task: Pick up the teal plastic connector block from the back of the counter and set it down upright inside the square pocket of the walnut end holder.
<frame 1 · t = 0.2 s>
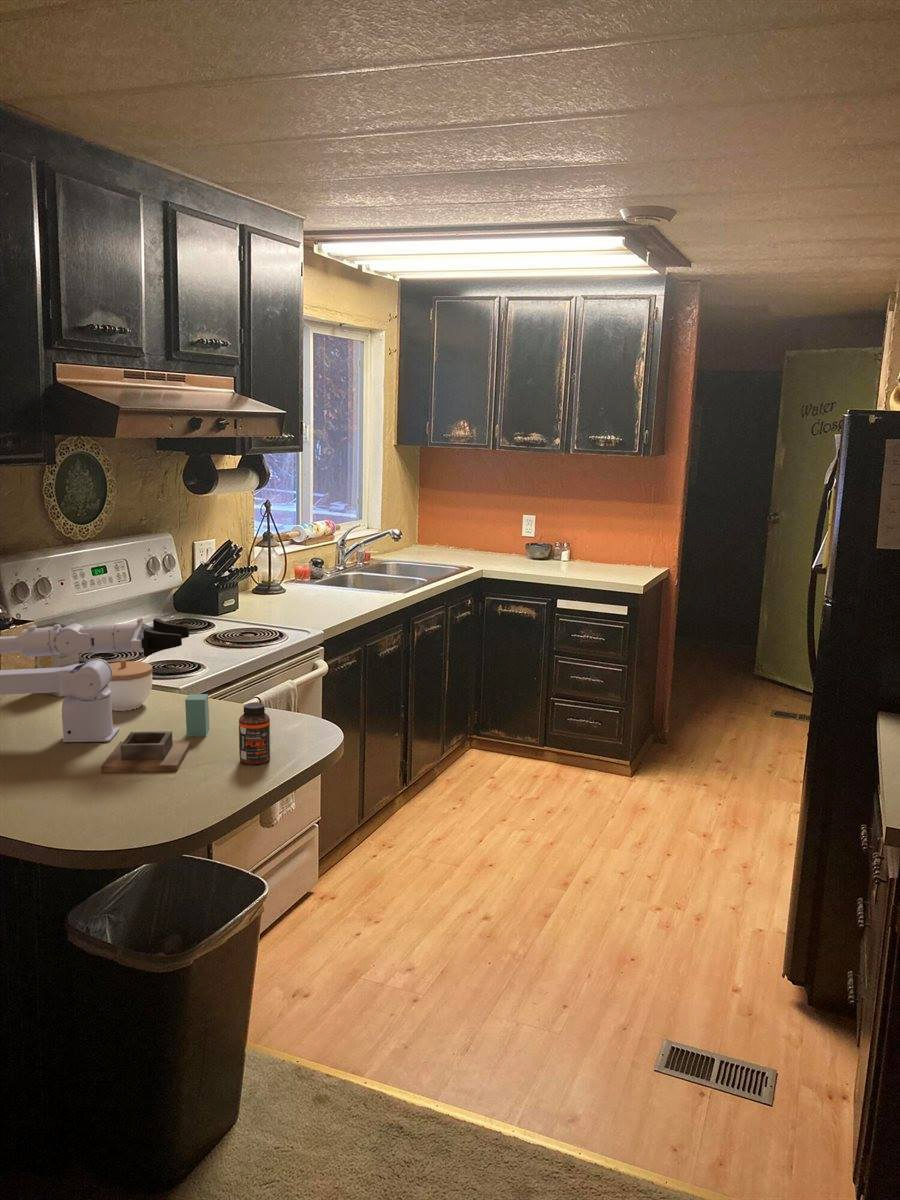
hand: (185, 636, 198), 21 cm above the table, tool horizontal, fingers open, 7 cm apart
supplement bottle: (255, 761, 188), on the table
lidded bowl: (125, 707, 221), on the table
connector block: (198, 733, 203), on the table
end holder: (147, 758, 188), on the table
coffee box: (59, 692, 233), on the table
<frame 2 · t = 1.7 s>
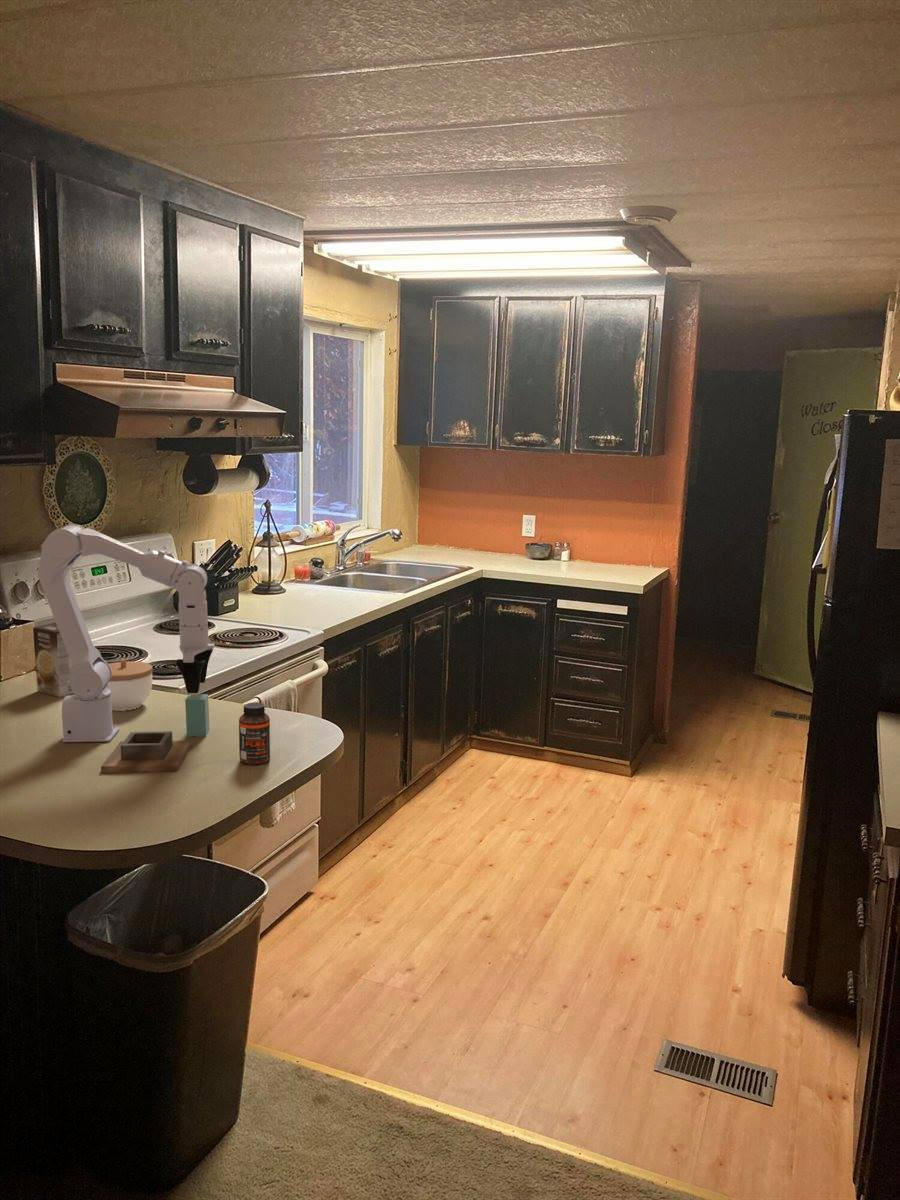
hand: (196, 687, 201), 10 cm above the table, tool pointing down, fingers open, 7 cm apart
nothing on the table moved.
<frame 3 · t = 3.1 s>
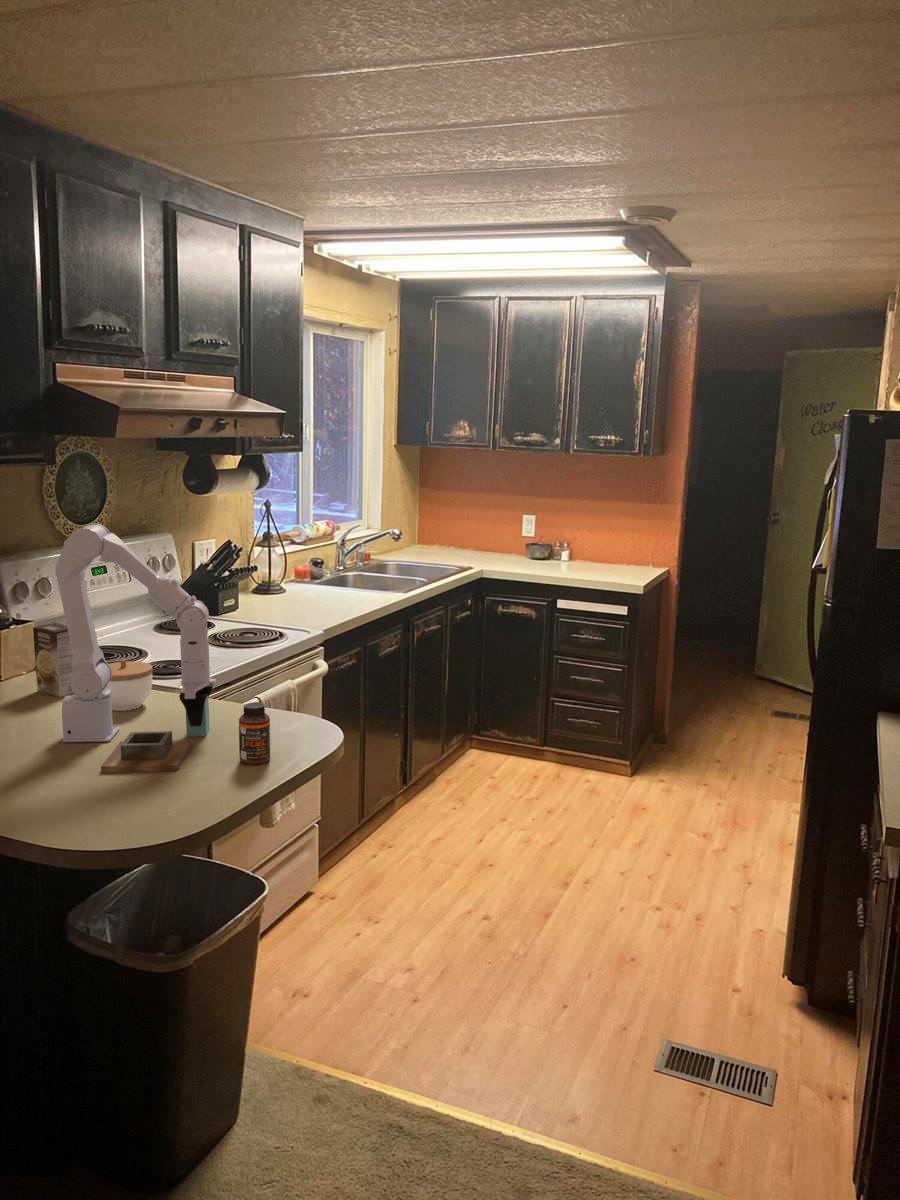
hand: (197, 722, 203), 2 cm above the table, tool pointing down, fingers closed on connector block, 4 cm apart
connector block: (198, 733, 203), on the table, touching gripper
everything else where it was.
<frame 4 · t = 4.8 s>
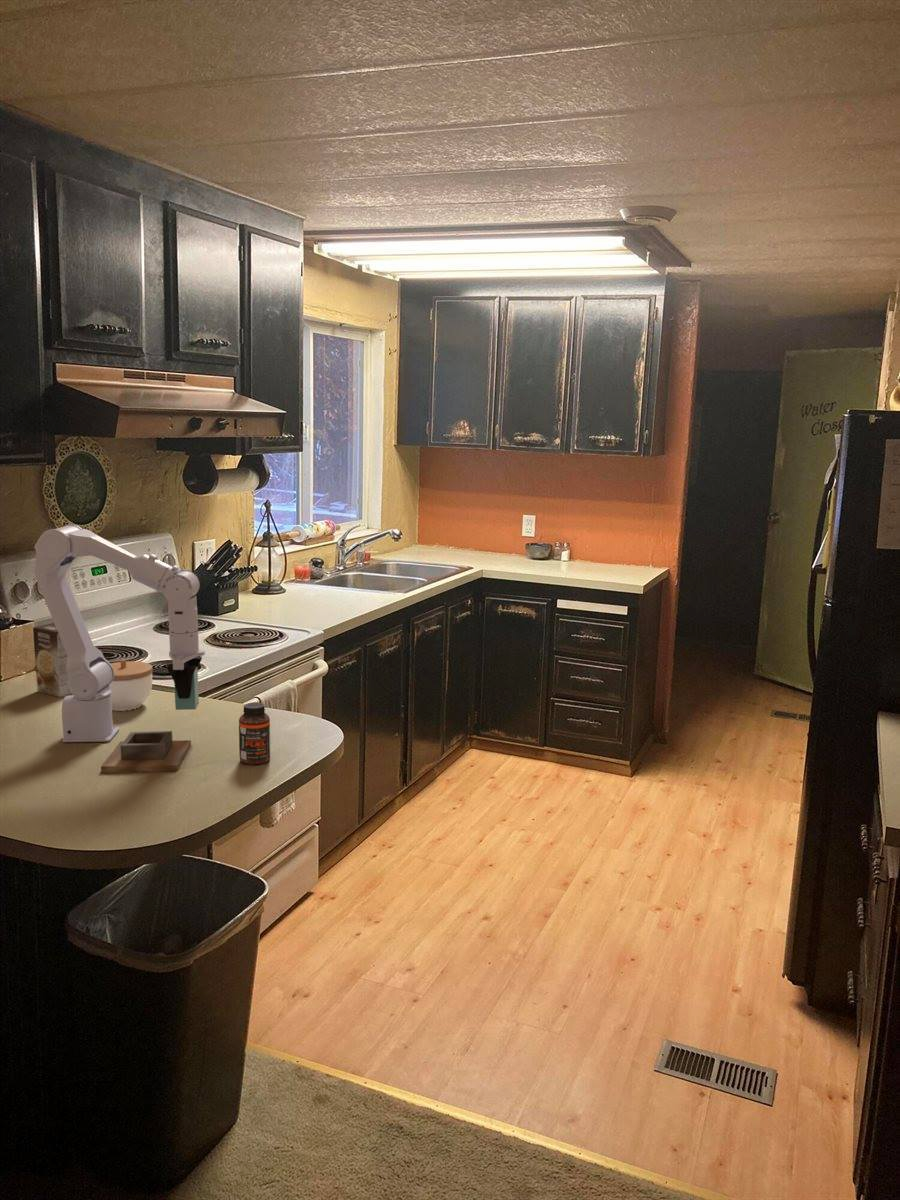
hand: (186, 694, 198), 9 cm above the table, tool pointing down, fingers closed on connector block, 4 cm apart
connector block: (187, 706, 199), point 7 cm above the table, touching gripper
everything else where it was.
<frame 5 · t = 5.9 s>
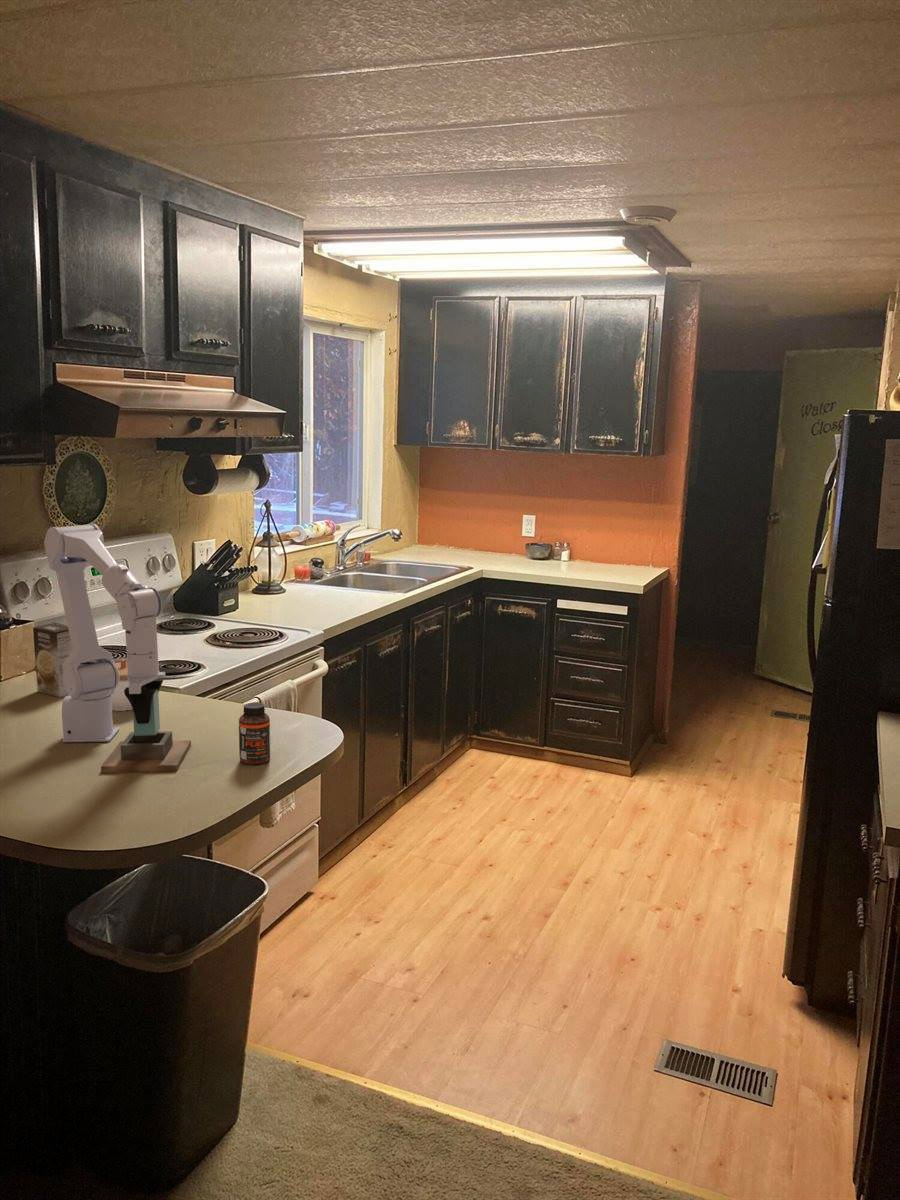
hand: (145, 719, 186), 8 cm above the table, tool pointing down, fingers closed on connector block, 4 cm apart
connector block: (147, 732, 187), point 5 cm above the table, touching gripper
everything else where it was.
when the fingers open (5 cm above the table, at t = 6.8 s): connector block drops 1 cm, resting on end holder.
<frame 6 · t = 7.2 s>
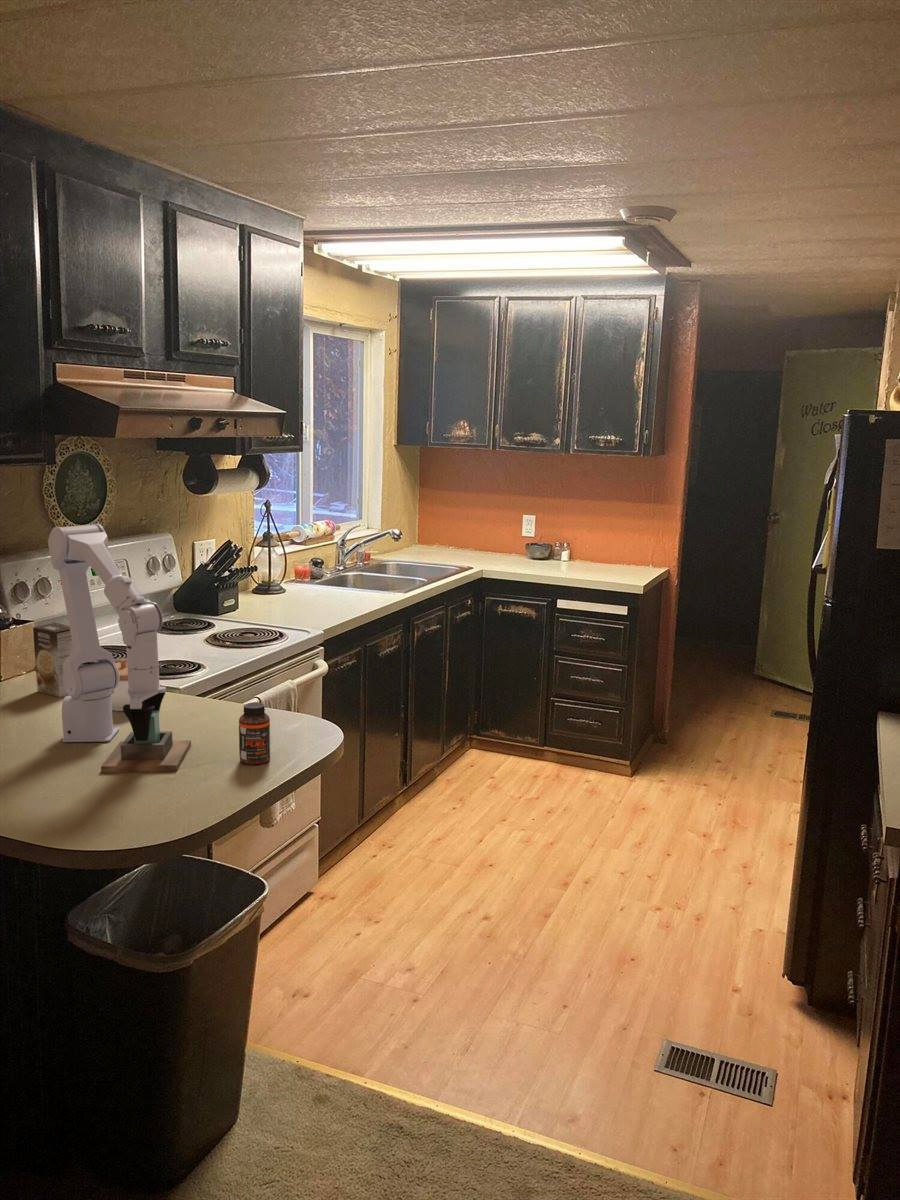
hand: (146, 733, 187), 5 cm above the table, tool pointing down, fingers open, 7 cm apart
connector block: (148, 752, 188), point 1 cm above the table, touching end holder
everything else where it was.
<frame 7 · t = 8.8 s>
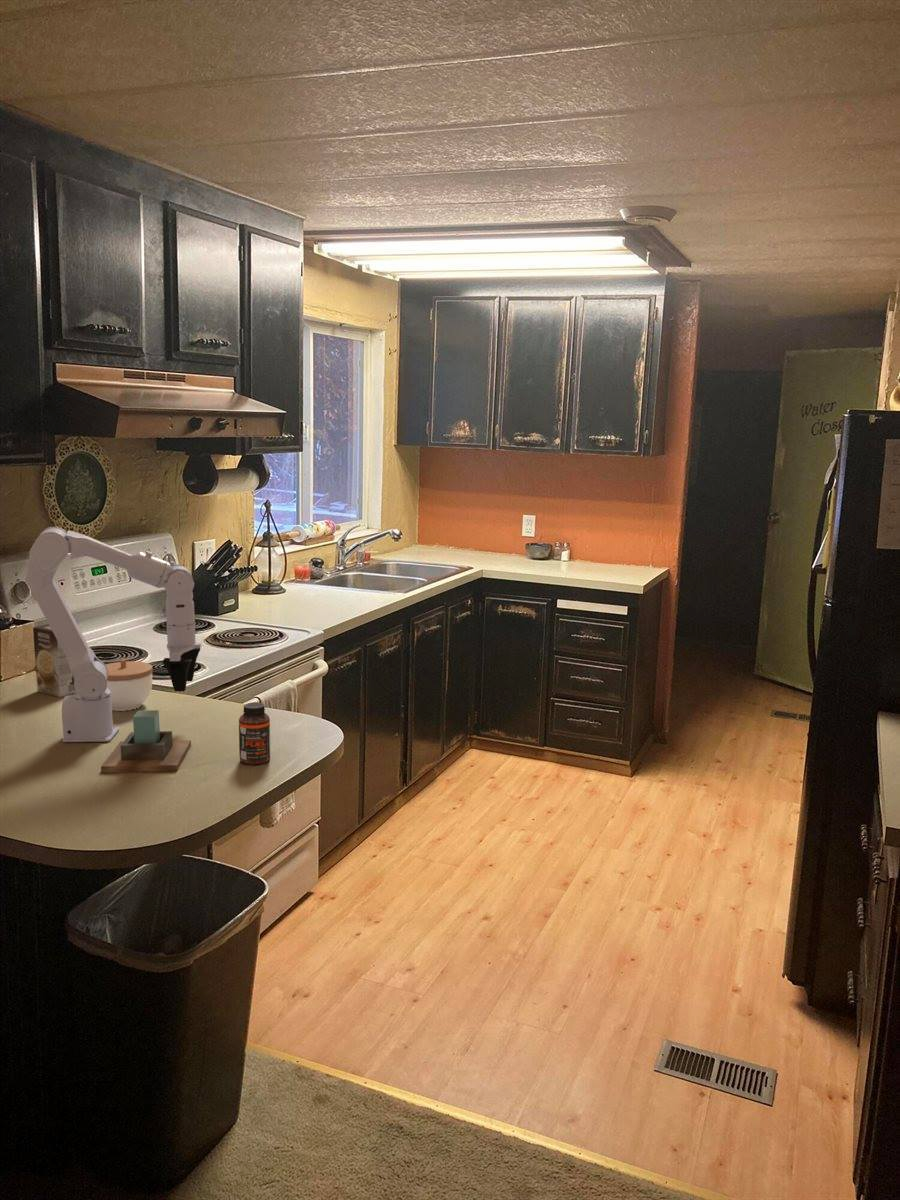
hand: (183, 685, 204), 9 cm above the table, tool pointing down, fingers open, 7 cm apart
nothing on the table moved.
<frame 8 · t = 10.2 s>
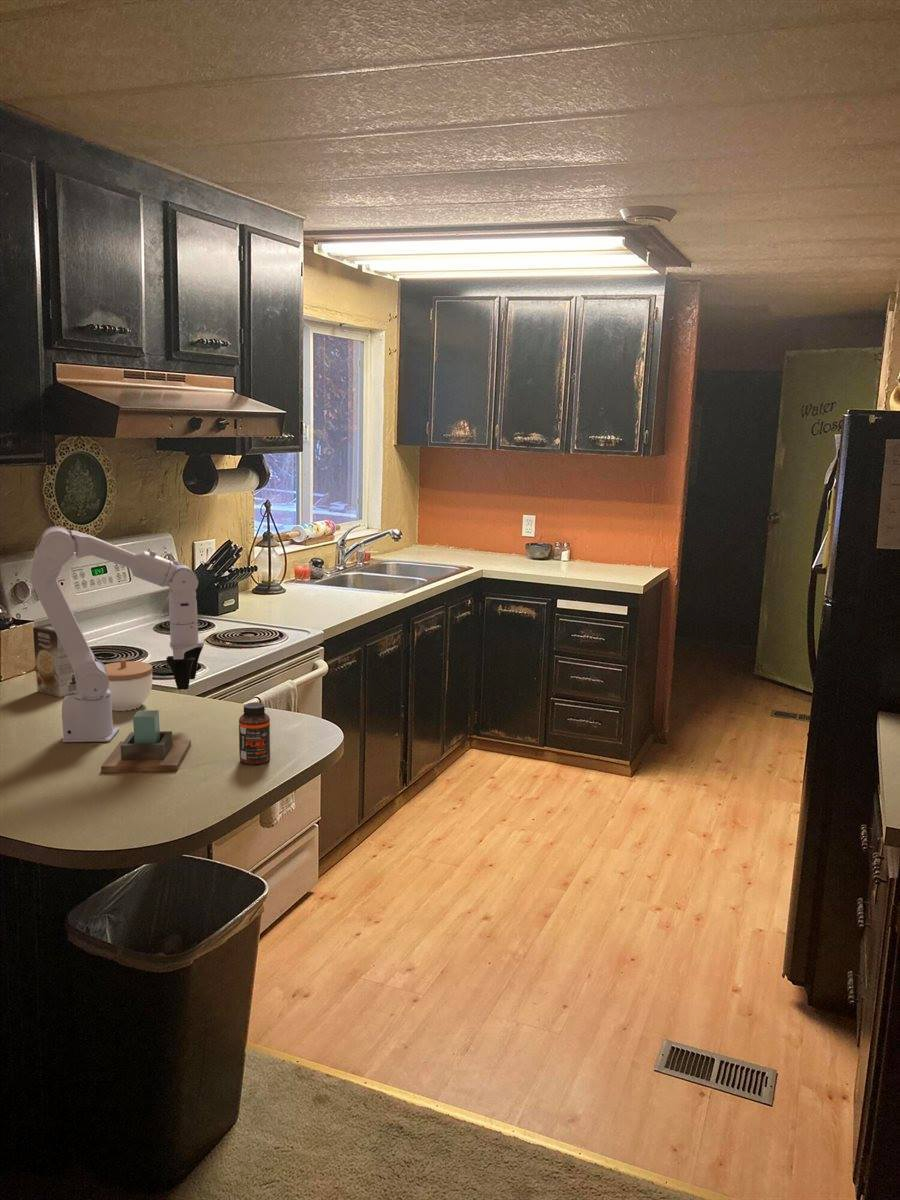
hand: (186, 683, 206), 9 cm above the table, tool pointing down, fingers open, 7 cm apart
nothing on the table moved.
at the end: connector block 0.1 cm off-centre on the end holder, point 1.2 cm above the end holder's base; connector block tilted 0°; the gripper is holding nothing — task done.
